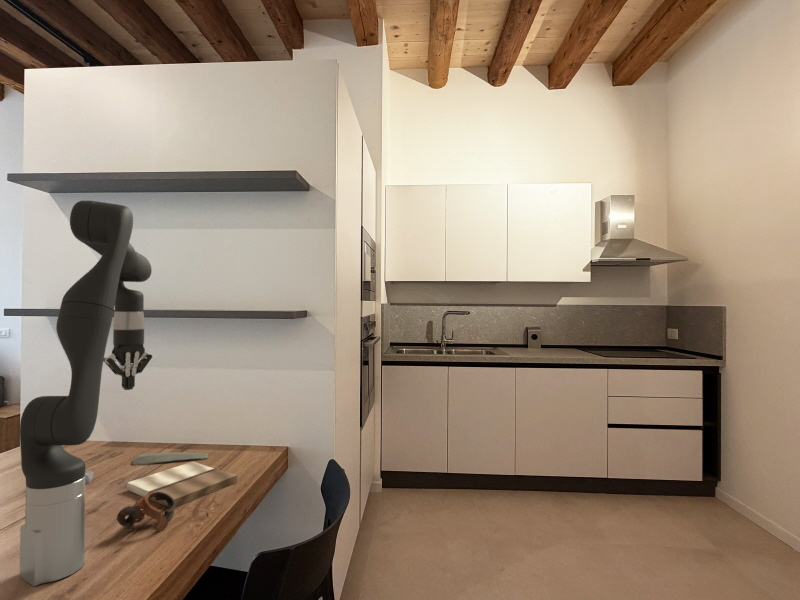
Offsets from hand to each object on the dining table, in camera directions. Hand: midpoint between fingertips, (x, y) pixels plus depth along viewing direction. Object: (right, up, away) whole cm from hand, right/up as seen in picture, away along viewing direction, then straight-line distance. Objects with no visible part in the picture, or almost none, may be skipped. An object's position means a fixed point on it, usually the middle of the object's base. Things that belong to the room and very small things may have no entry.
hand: (128, 389), depth 130 cm
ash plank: (+11, -27, +2) cm, 29 cm away
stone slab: (+1, -28, +23) cm, 36 cm away
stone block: (-18, -27, +1) cm, 33 cm away
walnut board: (+20, -27, -3) cm, 34 cm away
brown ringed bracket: (+18, -27, -24) cm, 40 cm away
